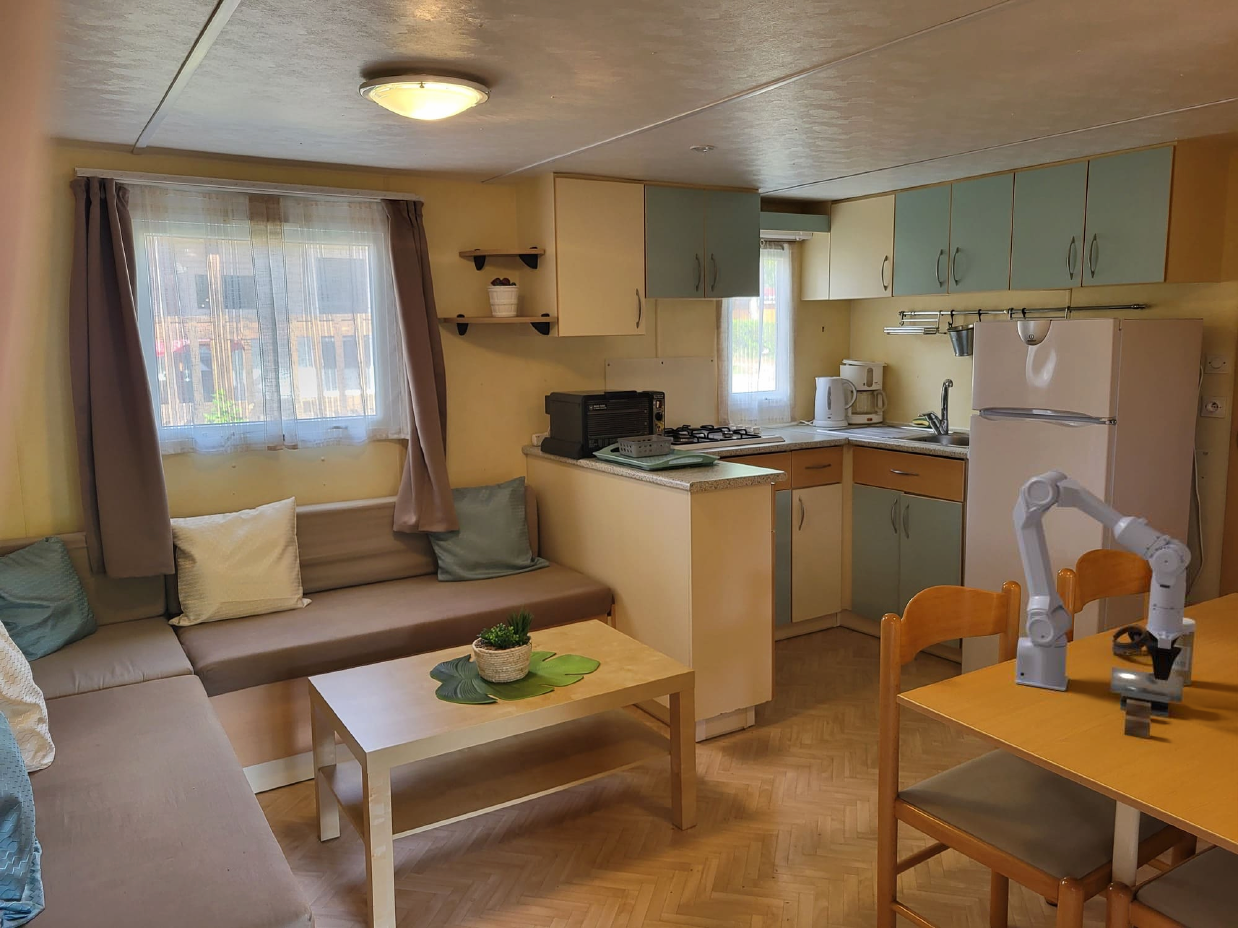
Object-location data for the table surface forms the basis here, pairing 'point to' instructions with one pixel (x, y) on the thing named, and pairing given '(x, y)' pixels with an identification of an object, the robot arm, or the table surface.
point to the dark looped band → (1137, 638)
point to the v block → (1157, 701)
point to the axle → (1146, 683)
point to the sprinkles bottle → (1185, 653)
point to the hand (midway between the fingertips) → (1161, 672)
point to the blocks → (1137, 719)
